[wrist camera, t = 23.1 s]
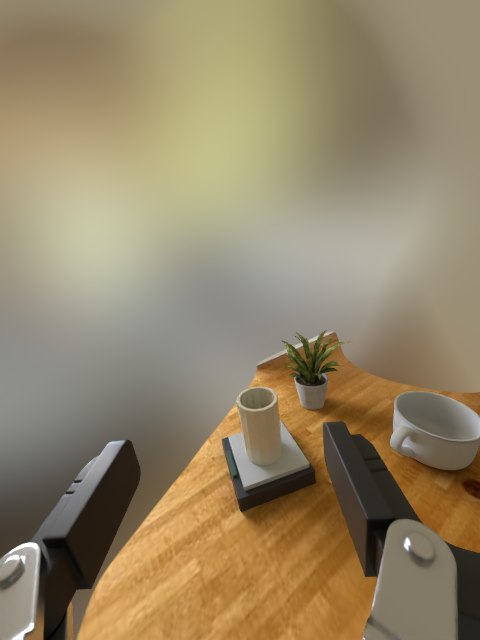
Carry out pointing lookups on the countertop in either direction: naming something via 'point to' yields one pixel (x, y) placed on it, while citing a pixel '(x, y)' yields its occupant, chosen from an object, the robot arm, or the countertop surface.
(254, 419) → the tumbler
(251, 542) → the countertop surface
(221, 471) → the countertop surface
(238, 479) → the scale
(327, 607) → the countertop surface
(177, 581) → the countertop surface
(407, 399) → the teacup
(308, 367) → the house plant
